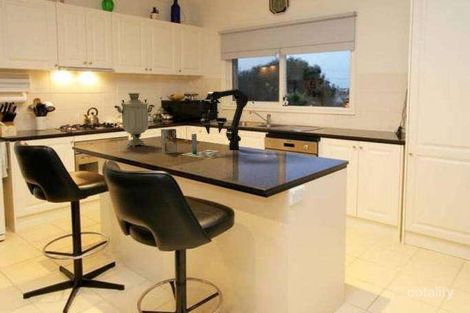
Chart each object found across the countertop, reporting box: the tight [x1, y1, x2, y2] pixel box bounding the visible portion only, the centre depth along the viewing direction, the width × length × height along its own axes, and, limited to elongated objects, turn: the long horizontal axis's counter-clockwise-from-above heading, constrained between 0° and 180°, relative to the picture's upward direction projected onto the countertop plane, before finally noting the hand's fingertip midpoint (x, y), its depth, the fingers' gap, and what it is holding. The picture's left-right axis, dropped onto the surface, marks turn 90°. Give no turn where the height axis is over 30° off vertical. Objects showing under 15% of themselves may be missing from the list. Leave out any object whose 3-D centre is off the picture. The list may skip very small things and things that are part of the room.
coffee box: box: [160, 128, 178, 154], centre depth 274 cm, size 9×6×16 cm
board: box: [181, 149, 222, 159], centre depth 256 cm, size 26×12×4 cm, turn 51°
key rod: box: [191, 133, 198, 154], centre depth 259 cm, size 3×3×13 cm
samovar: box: [113, 92, 156, 148], centre depth 307 cm, size 30×26×40 cm
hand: (214, 133), depth 270 cm, fingers open, 9 cm apart
